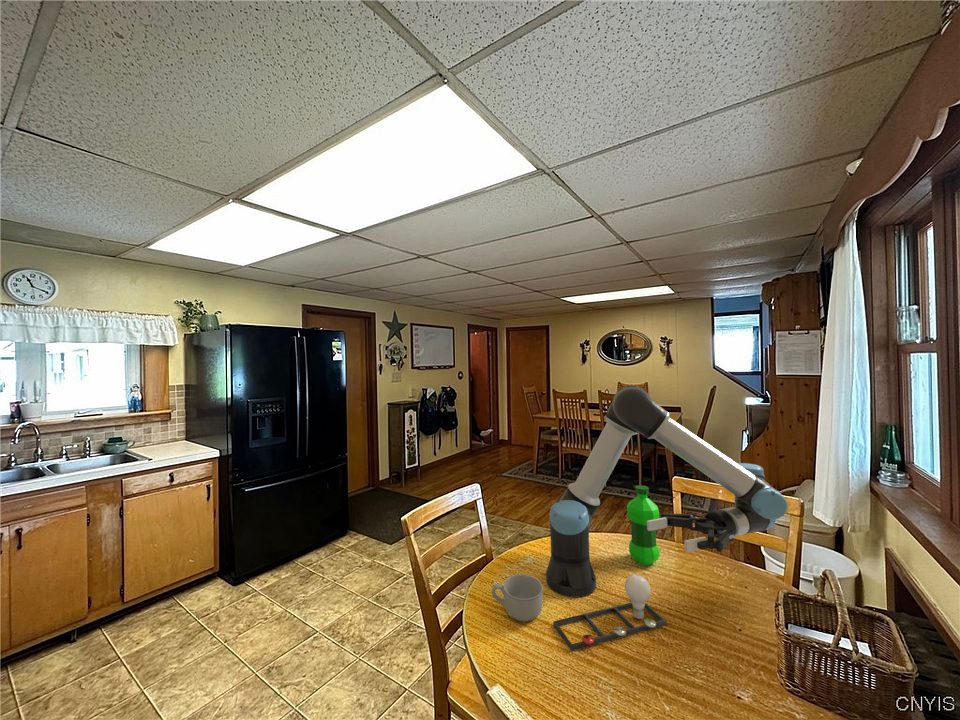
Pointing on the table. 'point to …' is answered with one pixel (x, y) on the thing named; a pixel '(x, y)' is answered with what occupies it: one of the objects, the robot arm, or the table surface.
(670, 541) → the table surface
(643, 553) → the plastic bottle
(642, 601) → the lightbulb
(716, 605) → the table surface
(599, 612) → the dark grey flat frame
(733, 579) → the table surface
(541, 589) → the teacup
